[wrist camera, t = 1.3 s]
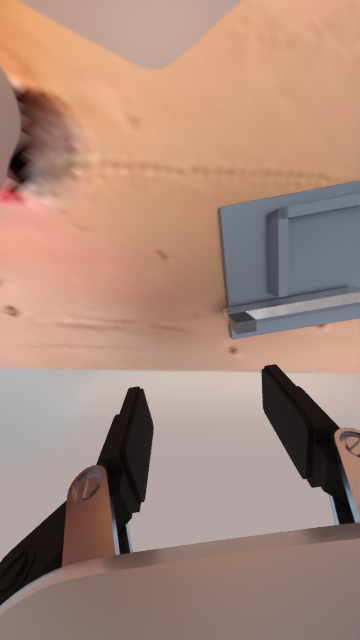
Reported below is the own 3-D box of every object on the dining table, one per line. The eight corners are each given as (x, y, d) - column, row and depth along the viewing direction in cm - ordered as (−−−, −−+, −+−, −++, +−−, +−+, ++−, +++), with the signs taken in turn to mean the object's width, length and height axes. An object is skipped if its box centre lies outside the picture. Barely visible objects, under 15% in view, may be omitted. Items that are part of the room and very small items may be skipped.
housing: (416, 171, 21) (461, 156, 18) (389, 309, 26) (420, 317, 23) (218, 209, 22) (226, 200, 18) (230, 336, 27) (238, 347, 23)
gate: (351, 286, 23) (402, 295, 18) (350, 295, 24) (400, 307, 18) (222, 308, 24) (236, 323, 19) (223, 317, 24) (236, 334, 19)
